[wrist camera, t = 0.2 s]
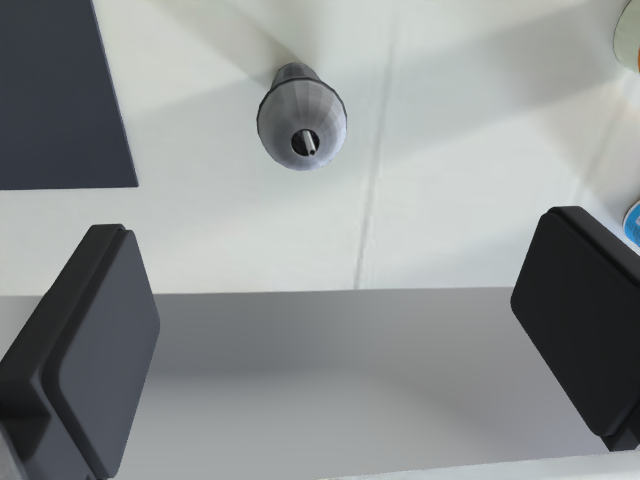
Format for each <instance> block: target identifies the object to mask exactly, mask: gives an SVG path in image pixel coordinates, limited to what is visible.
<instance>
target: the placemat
mask: <svg viewBox="0 0 640 480" xmlns="http://www.w3.org/2000/svg"><path fill="white" fill-rule="evenodd" d="M138 186H139V185H138V181H137V177H136V173H135V169H134V165H133V161H132V157H131V153H130V149H129V145H128V141H127V137H126V133H125V129H124V125H123V122H122V118H121V114H120V110H119V106H118V102H117V98H116V94H115V90H114V86H113V82H112V78H111V74H110V70H109V66H108V62H107V58H106V54H105V50H104V46H103V43H102V39H101V35H100V31H99V27H98V23H97V19H96V15H95V11H94V7H93V3H92V0H0V190H35V189H79V188H124V187H138Z"/></svg>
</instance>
